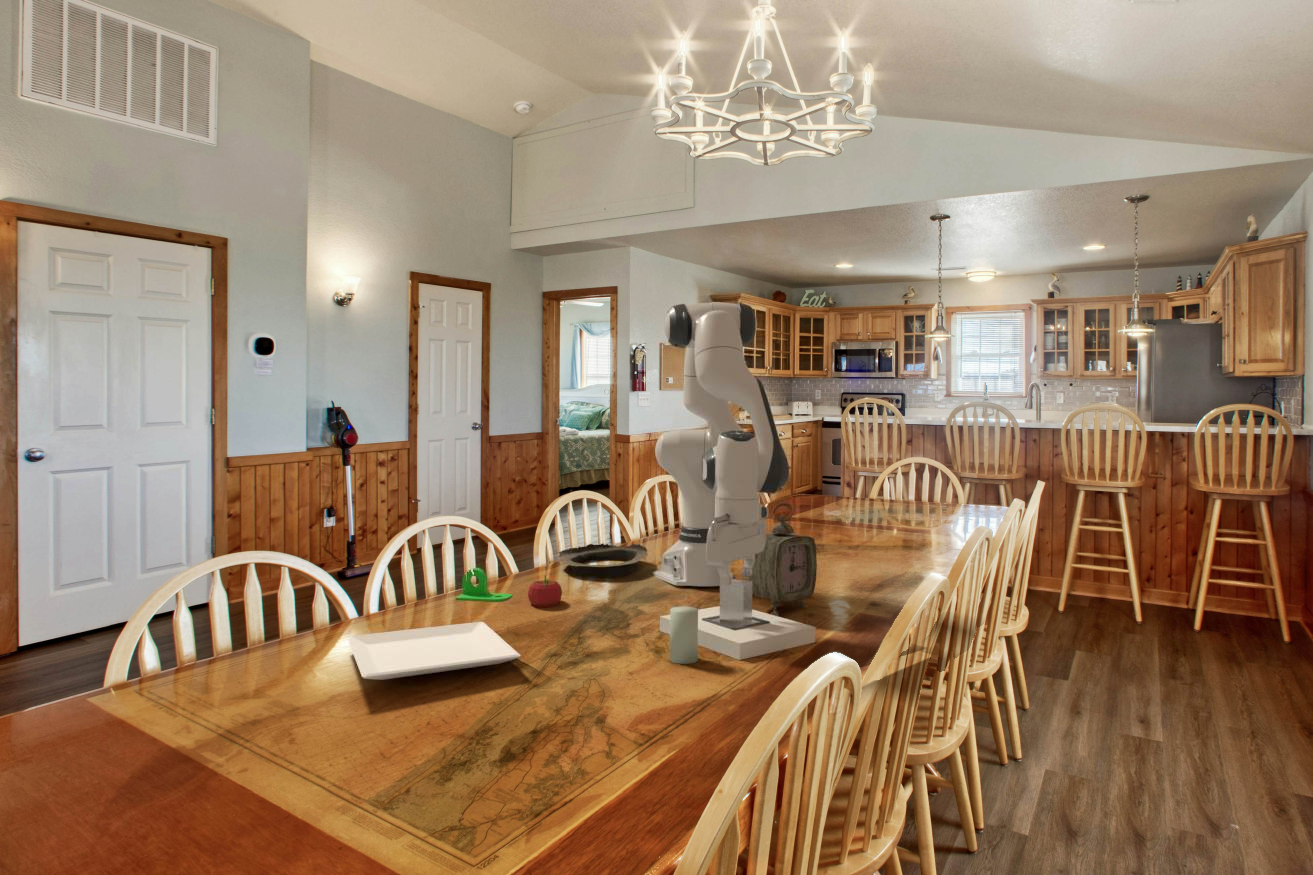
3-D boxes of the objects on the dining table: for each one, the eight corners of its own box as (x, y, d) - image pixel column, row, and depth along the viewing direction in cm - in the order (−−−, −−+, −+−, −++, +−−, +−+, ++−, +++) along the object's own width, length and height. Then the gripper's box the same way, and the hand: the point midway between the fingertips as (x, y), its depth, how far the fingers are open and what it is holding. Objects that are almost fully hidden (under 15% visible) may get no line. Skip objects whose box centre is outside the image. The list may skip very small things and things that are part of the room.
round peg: (664, 658, 136) (664, 608, 136) (685, 653, 139) (686, 605, 139) (681, 665, 132) (681, 614, 132) (703, 660, 135) (703, 610, 135)
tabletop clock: (775, 621, 163) (776, 506, 163) (744, 613, 170) (745, 503, 169) (816, 611, 172) (817, 502, 172) (785, 604, 179) (786, 499, 179)
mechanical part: (455, 606, 176) (455, 572, 176) (465, 600, 182) (465, 567, 182) (504, 608, 174) (505, 573, 174) (513, 602, 180) (513, 569, 180)
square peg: (719, 637, 150) (719, 582, 150) (728, 631, 154) (729, 578, 154) (743, 641, 147) (743, 585, 147) (751, 635, 152) (752, 580, 152)
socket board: (659, 630, 154) (659, 614, 154) (732, 617, 166) (732, 602, 166) (739, 659, 135) (739, 641, 135) (815, 642, 147) (815, 625, 147)
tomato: (565, 604, 177) (565, 572, 177) (557, 612, 169) (558, 578, 169) (532, 603, 178) (532, 571, 178) (523, 611, 170) (523, 577, 170)
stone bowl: (608, 570, 223) (608, 538, 223) (668, 582, 205) (668, 548, 205) (539, 581, 205) (539, 547, 205) (598, 596, 187) (599, 558, 187)
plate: (362, 688, 120) (362, 675, 120) (346, 646, 143) (346, 635, 143) (521, 666, 132) (521, 654, 132) (483, 630, 155) (483, 620, 155)
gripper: (727, 519, 140) (726, 592, 141) (771, 508, 157) (771, 573, 158) (697, 516, 144) (697, 588, 144) (744, 506, 161) (744, 570, 161)
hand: (736, 580), depth 151 cm, fingers open, 8 cm apart
